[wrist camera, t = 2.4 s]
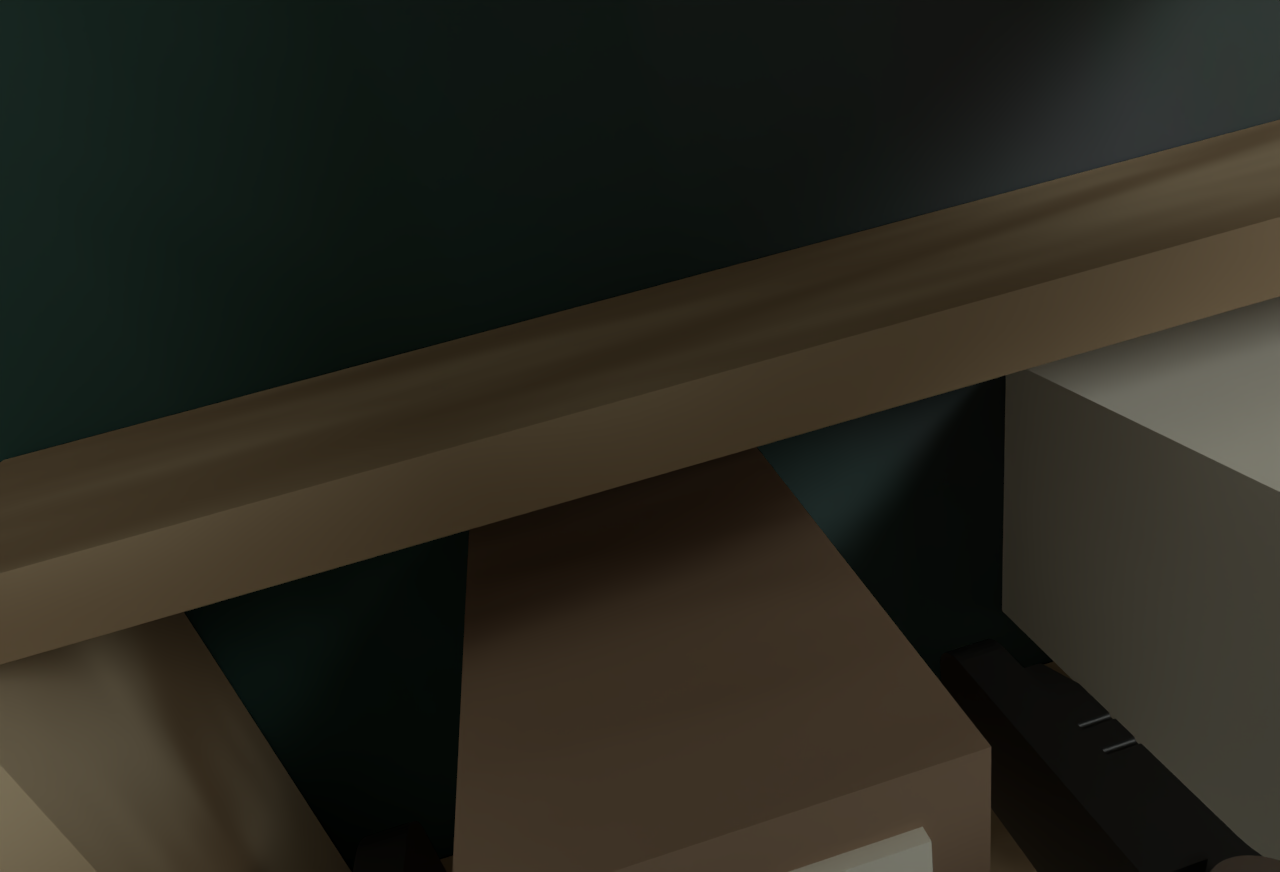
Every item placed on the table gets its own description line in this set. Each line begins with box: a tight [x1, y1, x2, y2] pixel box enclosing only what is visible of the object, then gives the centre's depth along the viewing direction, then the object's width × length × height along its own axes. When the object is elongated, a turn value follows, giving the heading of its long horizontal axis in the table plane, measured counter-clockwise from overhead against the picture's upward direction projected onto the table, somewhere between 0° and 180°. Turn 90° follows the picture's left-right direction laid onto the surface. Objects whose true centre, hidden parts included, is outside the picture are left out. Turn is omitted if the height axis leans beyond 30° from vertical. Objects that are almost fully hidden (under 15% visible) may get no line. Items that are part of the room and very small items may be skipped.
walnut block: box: [453, 447, 991, 872], centre depth 11 cm, size 6×5×7 cm
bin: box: [0, 120, 1280, 872], centre depth 12 cm, size 12×27×4 cm, turn 102°
